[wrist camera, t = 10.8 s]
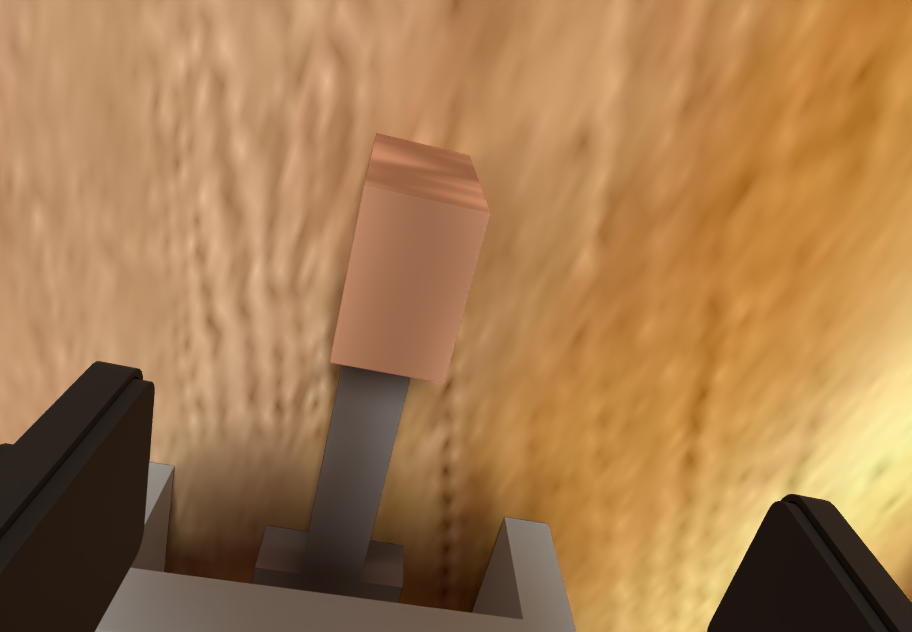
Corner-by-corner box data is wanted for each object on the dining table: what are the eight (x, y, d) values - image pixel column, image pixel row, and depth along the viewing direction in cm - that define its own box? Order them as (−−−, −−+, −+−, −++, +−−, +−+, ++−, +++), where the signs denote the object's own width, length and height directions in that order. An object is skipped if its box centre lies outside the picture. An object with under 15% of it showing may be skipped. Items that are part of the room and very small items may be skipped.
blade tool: (508, 164, 24) (543, 225, 18) (397, 565, 31) (394, 711, 25) (334, 123, 23) (306, 171, 17) (262, 546, 30) (223, 693, 24)
